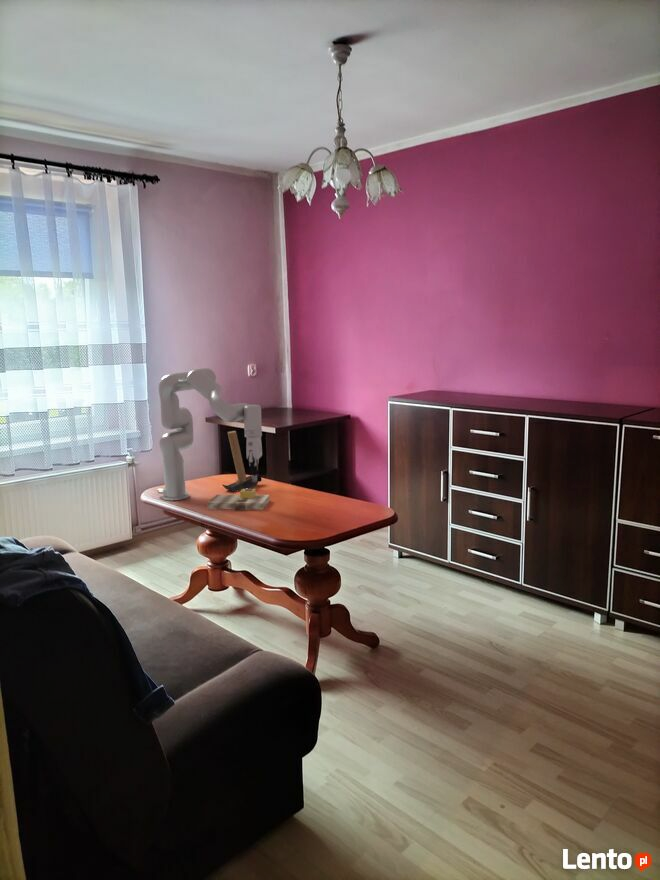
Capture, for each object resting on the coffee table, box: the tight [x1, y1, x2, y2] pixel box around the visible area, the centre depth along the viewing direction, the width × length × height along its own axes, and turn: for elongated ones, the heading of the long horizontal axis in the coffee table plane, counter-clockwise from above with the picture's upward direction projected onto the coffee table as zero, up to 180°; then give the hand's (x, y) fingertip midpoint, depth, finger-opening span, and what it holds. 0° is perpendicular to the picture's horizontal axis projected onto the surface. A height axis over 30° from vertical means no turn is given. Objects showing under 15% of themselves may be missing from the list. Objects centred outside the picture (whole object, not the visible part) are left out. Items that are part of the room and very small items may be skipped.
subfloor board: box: [206, 494, 271, 512], centre depth 291 cm, size 25×17×3 cm
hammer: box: [221, 430, 262, 492], centre depth 318 cm, size 20×5×30 cm, turn 131°
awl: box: [251, 458, 258, 482], centre depth 284 cm, size 3×3×12 cm
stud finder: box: [239, 488, 257, 498], centre depth 294 cm, size 6×5×3 cm
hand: (254, 473), depth 285 cm, fingers closed on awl, 3 cm apart
